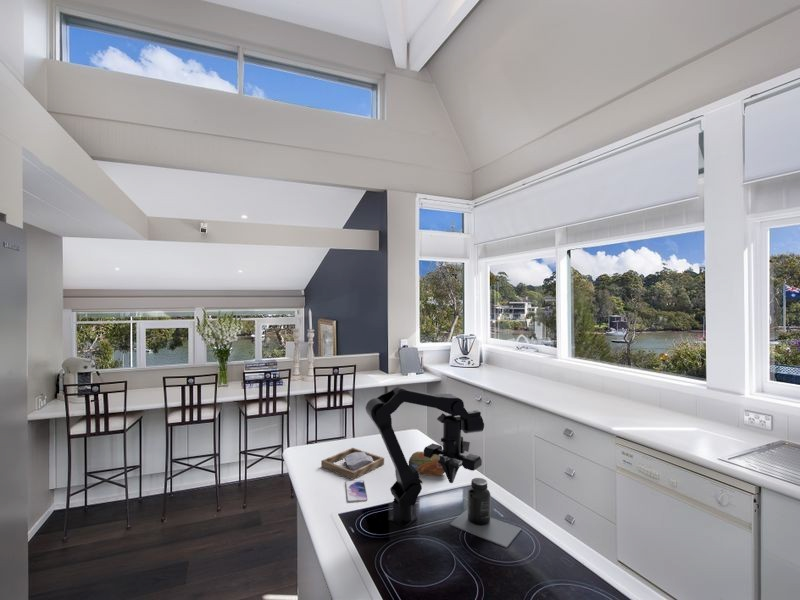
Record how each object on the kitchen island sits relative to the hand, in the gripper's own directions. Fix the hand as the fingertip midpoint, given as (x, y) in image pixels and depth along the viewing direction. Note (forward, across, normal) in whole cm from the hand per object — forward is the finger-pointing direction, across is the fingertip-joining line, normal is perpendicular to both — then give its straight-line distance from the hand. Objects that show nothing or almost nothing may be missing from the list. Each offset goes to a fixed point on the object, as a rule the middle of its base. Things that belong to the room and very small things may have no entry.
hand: (451, 482), depth 130 cm
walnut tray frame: (+9, +49, -5) cm, 50 cm away
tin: (+9, +21, -18) cm, 29 cm away
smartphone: (+10, +33, +10) cm, 36 cm away
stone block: (+10, +48, -6) cm, 49 cm away
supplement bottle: (+9, -10, 0) cm, 13 cm away
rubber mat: (+9, -13, +2) cm, 16 cm away
